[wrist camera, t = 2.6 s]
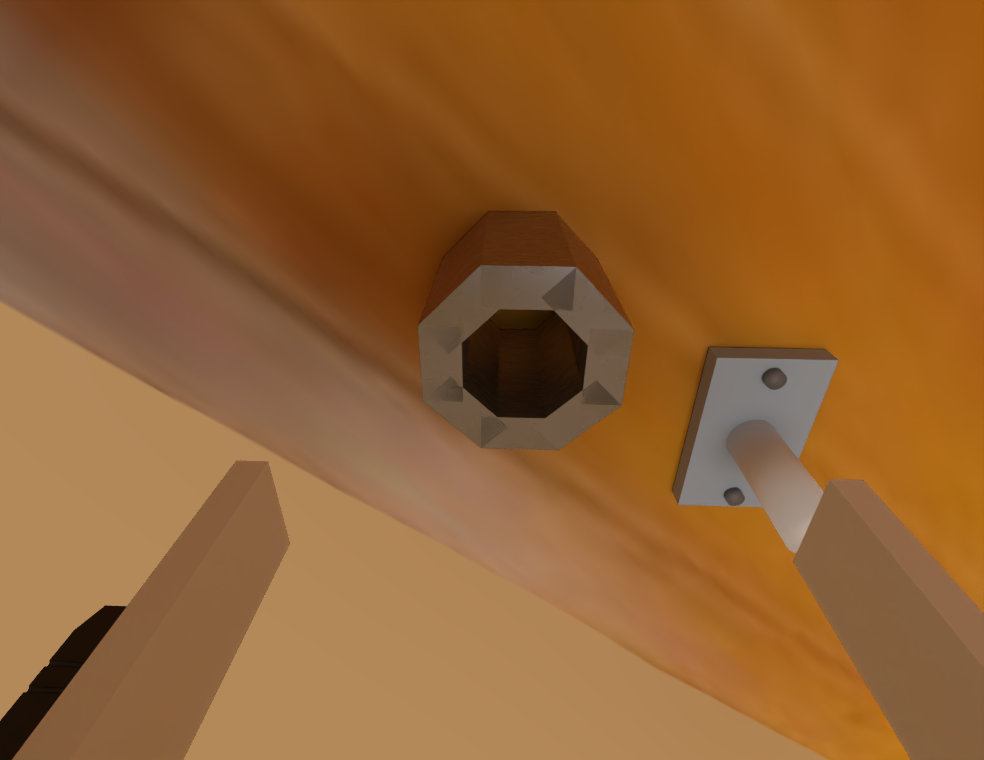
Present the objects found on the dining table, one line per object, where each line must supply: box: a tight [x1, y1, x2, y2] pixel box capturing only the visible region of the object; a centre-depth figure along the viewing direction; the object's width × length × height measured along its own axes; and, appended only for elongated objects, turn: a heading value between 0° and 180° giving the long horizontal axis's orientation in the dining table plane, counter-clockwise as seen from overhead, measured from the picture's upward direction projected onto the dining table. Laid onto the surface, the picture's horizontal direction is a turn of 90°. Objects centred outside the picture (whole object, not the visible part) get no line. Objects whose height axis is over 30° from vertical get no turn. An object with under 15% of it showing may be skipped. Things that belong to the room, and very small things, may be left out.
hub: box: [418, 211, 634, 450], centre depth 21 cm, size 7×7×8 cm
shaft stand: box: [673, 347, 839, 553], centre depth 25 cm, size 6×10×8 cm, turn 179°
